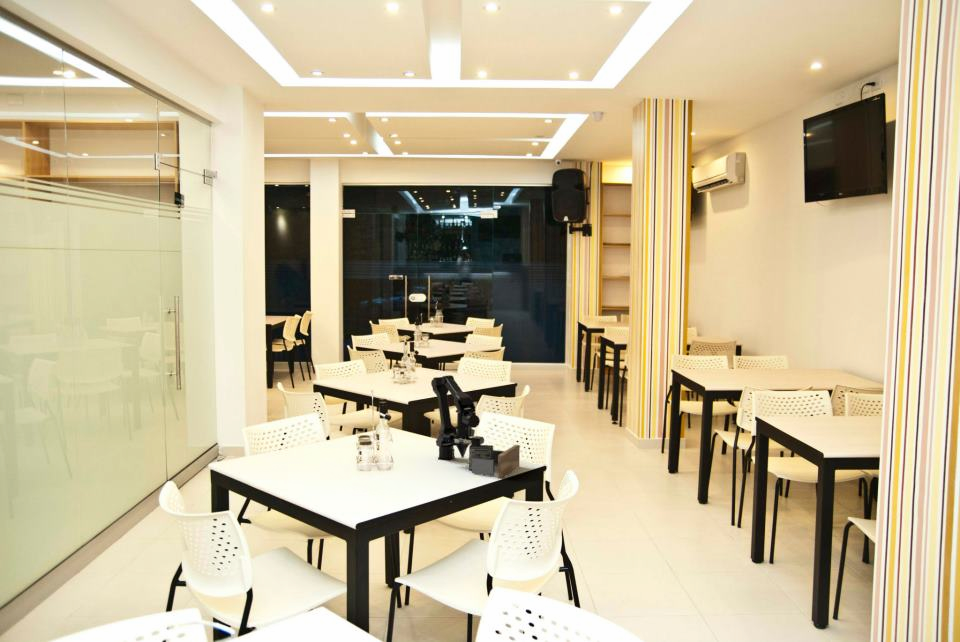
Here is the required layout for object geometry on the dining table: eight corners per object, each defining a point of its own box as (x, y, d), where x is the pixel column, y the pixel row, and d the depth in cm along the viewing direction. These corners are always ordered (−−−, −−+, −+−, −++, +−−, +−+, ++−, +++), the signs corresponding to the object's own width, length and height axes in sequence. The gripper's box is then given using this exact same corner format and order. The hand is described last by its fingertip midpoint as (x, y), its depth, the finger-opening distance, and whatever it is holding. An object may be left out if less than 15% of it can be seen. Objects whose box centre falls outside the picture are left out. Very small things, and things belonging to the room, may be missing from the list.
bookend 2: (486, 464, 321) (486, 449, 321) (487, 464, 322) (487, 449, 322) (506, 467, 317) (506, 452, 317) (507, 466, 318) (507, 451, 318)
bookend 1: (471, 473, 305) (472, 458, 305) (472, 473, 307) (473, 457, 306) (493, 476, 302) (493, 460, 301) (494, 475, 303) (494, 459, 302)
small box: (493, 467, 316) (493, 444, 316) (491, 471, 310) (492, 448, 309) (470, 466, 317) (470, 443, 317) (468, 470, 311) (468, 446, 310)
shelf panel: (497, 478, 299) (498, 455, 298) (515, 466, 319) (515, 444, 319) (502, 478, 298) (502, 455, 297) (519, 466, 318) (519, 445, 318)
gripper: (489, 422, 320) (488, 456, 321) (452, 418, 327) (451, 451, 328) (479, 426, 310) (478, 461, 310) (441, 422, 317) (441, 456, 318)
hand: (462, 457), depth 317 cm, fingers closed
